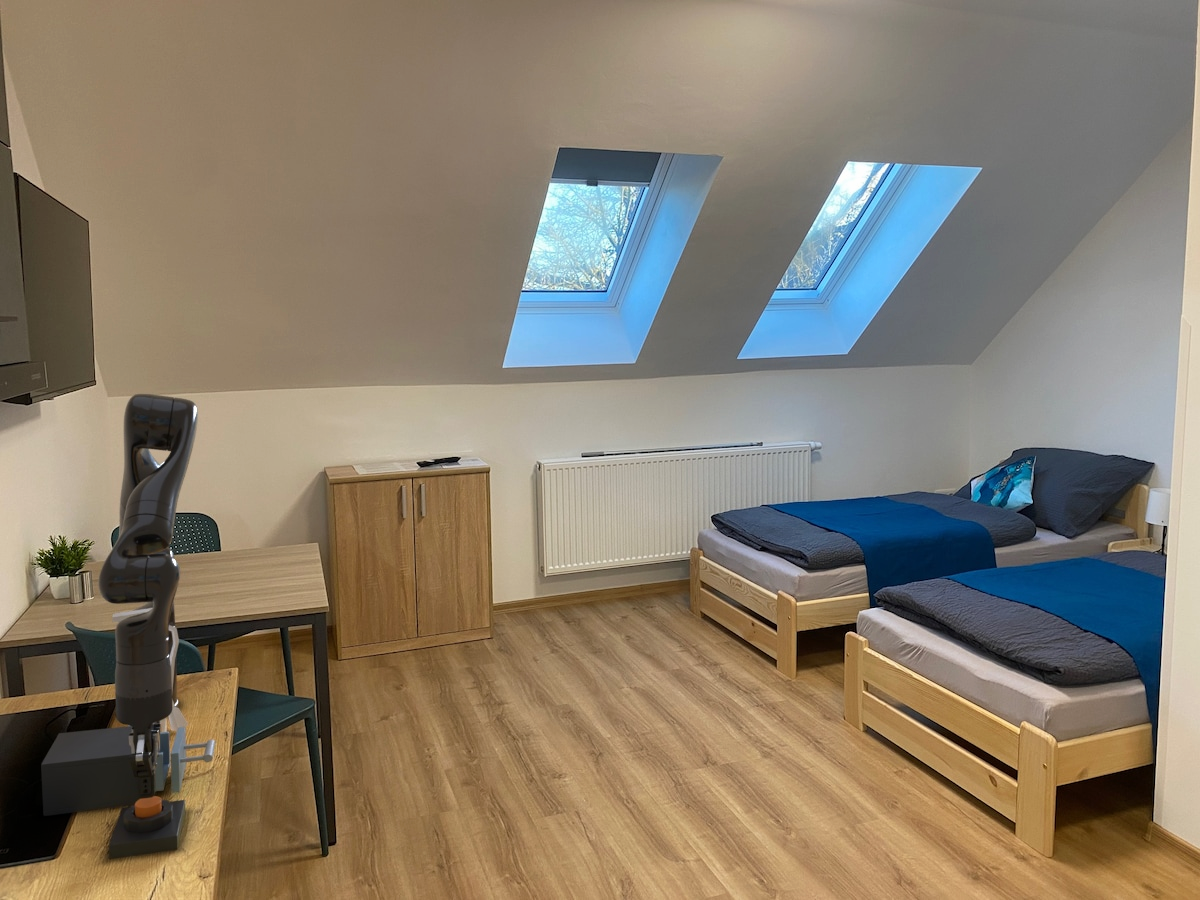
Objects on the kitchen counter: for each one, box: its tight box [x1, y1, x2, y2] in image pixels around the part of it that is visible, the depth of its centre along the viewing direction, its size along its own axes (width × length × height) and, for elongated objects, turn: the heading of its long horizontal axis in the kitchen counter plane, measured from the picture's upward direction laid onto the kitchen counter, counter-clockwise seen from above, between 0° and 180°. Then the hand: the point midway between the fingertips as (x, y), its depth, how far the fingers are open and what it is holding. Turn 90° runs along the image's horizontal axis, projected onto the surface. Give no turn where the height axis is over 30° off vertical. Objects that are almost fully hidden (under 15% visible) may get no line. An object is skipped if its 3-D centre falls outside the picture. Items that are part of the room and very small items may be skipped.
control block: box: [108, 799, 186, 860], centre depth 136 cm, size 11×9×4 cm
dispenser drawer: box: [155, 727, 216, 794], centre depth 150 cm, size 17×10×7 cm, turn 109°
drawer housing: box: [40, 725, 141, 817], centre depth 147 cm, size 14×12×9 cm
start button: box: [135, 795, 162, 818], centre depth 135 cm, size 4×4×2 cm
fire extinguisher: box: [111, 608, 189, 732], centre depth 167 cm, size 7×12×25 cm, turn 111°
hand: (147, 795), depth 135 cm, fingers closed
